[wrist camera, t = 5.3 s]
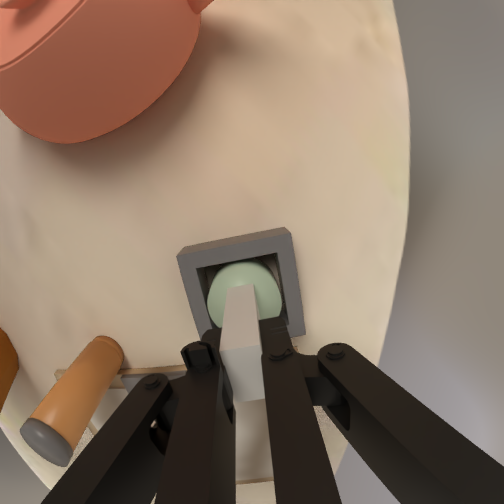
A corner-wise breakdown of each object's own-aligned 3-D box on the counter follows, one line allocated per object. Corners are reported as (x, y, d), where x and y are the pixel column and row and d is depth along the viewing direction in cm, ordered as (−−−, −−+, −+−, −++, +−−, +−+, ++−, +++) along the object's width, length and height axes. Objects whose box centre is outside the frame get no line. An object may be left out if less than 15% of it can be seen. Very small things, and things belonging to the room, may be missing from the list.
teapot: (232, -42, 13) (230, -137, 1) (286, 89, 17) (344, -24, 5) (22, 50, 14) (-56, 16, 2) (29, 187, 17) (-85, 204, 5)
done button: (220, 320, 20) (217, 342, 17) (205, 263, 19) (199, 277, 16) (280, 309, 20) (286, 329, 17) (270, 250, 19) (275, 262, 16)
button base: (208, 335, 21) (204, 352, 18) (184, 247, 19) (176, 255, 17) (299, 318, 21) (305, 334, 18) (284, 227, 19) (290, 233, 16)
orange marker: (100, 367, 21) (42, 460, 10) (85, 335, 20) (10, 423, 9) (131, 366, 21) (78, 471, 10) (116, 332, 20) (44, 433, 9)
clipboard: (134, 477, 26) (132, 484, 25) (57, 369, 21) (51, 377, 20) (311, 468, 26) (313, 476, 24) (296, 346, 21) (299, 356, 20)
